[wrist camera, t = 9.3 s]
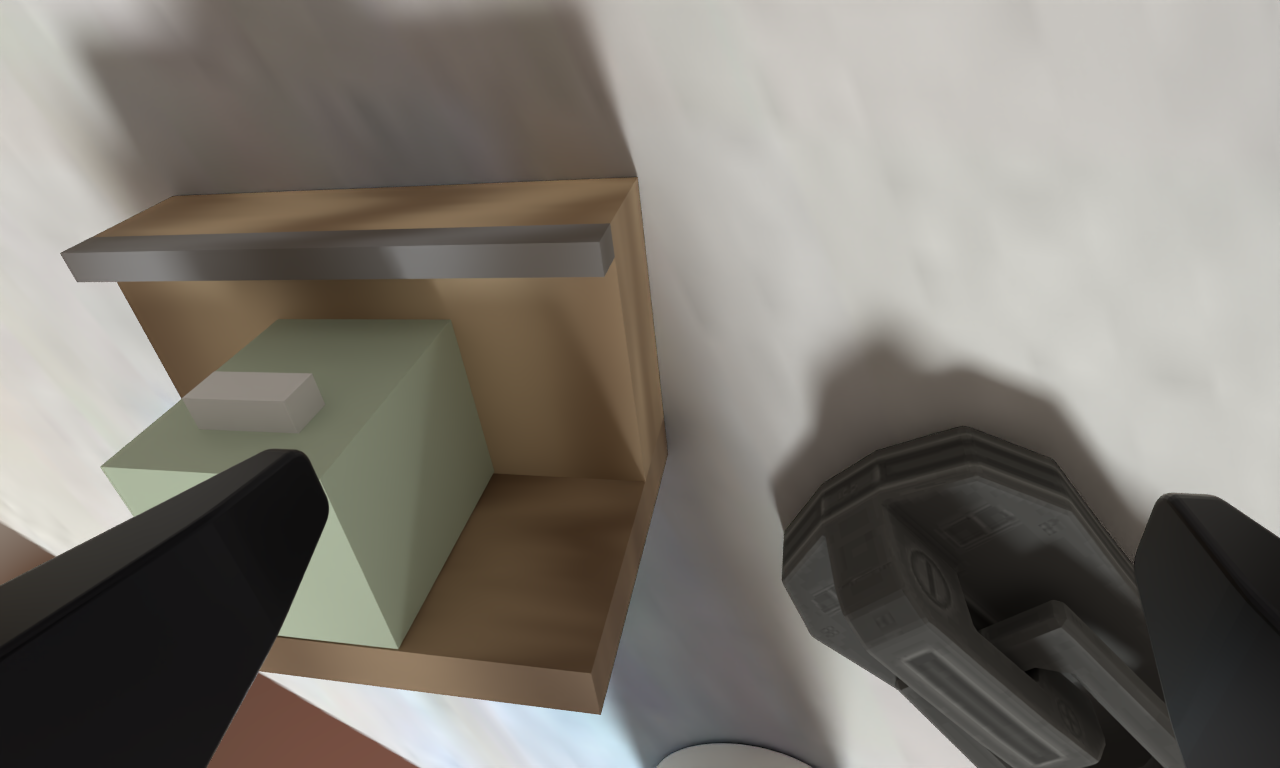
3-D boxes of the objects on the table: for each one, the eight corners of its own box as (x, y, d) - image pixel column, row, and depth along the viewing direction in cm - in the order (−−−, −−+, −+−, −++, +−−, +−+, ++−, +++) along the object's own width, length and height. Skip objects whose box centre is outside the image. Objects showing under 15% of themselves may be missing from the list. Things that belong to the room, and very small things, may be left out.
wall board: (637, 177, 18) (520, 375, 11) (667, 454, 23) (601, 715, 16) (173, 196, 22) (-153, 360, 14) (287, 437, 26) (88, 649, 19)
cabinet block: (442, 291, 18) (304, 445, 13) (494, 471, 21) (398, 649, 16) (266, 291, 19) (78, 435, 14) (340, 463, 22) (208, 627, 17)
